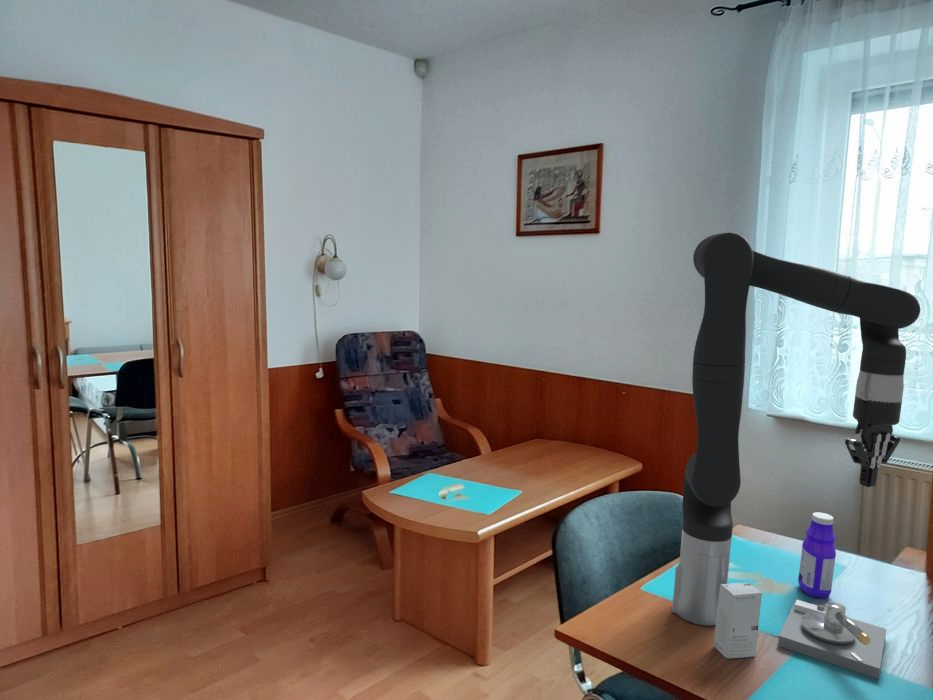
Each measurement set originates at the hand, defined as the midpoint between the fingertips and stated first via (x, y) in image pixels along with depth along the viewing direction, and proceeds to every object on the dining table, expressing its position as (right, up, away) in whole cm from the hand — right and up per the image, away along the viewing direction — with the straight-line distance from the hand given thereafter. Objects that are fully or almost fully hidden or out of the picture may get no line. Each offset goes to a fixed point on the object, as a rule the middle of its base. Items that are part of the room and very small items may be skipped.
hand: (867, 485), depth 128 cm
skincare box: (-27, -29, -6) cm, 40 cm away
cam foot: (-8, -27, -5) cm, 29 cm away
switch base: (-7, -29, -1) cm, 30 cm away
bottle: (-1, -27, +18) cm, 33 cm away
